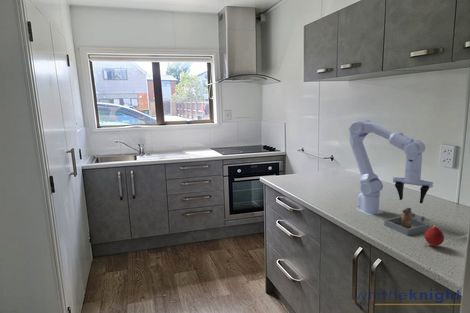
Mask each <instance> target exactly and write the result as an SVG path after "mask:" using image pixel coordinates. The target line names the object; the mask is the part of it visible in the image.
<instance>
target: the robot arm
mask: <svg viewBox="0 0 470 313" xmlns="http://www.w3.org/2000/svg"><path fill="white" fill-rule="evenodd" d="M348 131H349V143H350V144H349V145H350V146H351V150H352V153H353V155H354V158H355V161H356V164H357V168H358V169H359V170H358V171H359V172H360V179H359V183H360V186H359V188H360V192H359V194H358V196H357V208H356V210H357V211H359V212H362V213H365V214H366V215H369V216H373V215H378V214H384V212H383V211H382V210H380V197H381V194H380V193H381V191H383V188H384V184H383V182H382V181H381V180H380V178H379V176H378V175H377V174H376V173H374V171H373V168H372V163H371V161H370V159H369V156H368V152H367V150H366V148H365V145H364V139H365V137H366V136H367V135H368V134H369V133H371V134H376V135H378V136H380V137H382V138H383V139H386V140H388V142H389V144H390V145H392V146H394V147H396V148H398V149H400V150H402V151H403V152H404V153H405V155H406V157H405V169H404V177H398V176H397V177H395V176H394V177H392V183H395V184H394V188H396V191H397V193H398V198H399V201H402V200H403V199H404V188H405V185H412V186H413V185H414V186H418V187H420V186H421V187H420V197H419V204H421V205H422V204H423V203H424V200H425V197H426V195H427V193H428V191H429V189H431V188H433V187H434V181H427V180H424V179H423V180H422V179H421V177H422V163H423V153H424V152H425V151H426V150H425V149H426V145H425V143H424V142H423V141H421V140H420V139H419V140H418V139H417V140H415V138H414V137H409V136H407V135H405V134H404V132H402V131H401V132H391V131H390V130H388V129H387V128H384V127H383V126H381V125H379V124H377V123H376V122H375V121H371V120H369V119H363V120H354V121H353V122H351V124H350V126H349V127H348Z"/></svg>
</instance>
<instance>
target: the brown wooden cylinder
mask: <svg viewBox="0 0 470 313" xmlns="http://www.w3.org/2000/svg"><path fill="white" fill-rule="evenodd" d="M412 213H413V211H412V208H411V207H407V208H405V209H402V210H401V216H402V219H401V224H400V226H402V227H404V228H407V229H409V228H412V225H411V221H412Z"/></svg>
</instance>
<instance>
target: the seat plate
mask: <svg viewBox="0 0 470 313" xmlns="http://www.w3.org/2000/svg"><path fill="white" fill-rule="evenodd" d="M400 216H401V215H398V216H397V217H400ZM412 219H415V220H417V221H420V222H423V223H425V222H429V221H431V219H429V218H426V217H425V216H421V215H418V214H416V213H415V212H412Z"/></svg>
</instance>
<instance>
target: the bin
mask: <svg viewBox="0 0 470 313" xmlns="http://www.w3.org/2000/svg"><path fill="white" fill-rule="evenodd" d="M399 216H400V217H398V216H397V217H393V218H392V217H391V218H387V219H384V222H383V226H385V227H387V228H389V229H392V230H393V231H395V232H398V233H400V234H403V235H405V236H406V237H407V236H412V235H416V234H420V233H425V232H426V231H427V230H428V229H429V226H430V225H429V224H427V223H425V222H420V221H417V220H415V219H412V221H411V226H413V227H411V228H409V229H407V228H404V227H402V226H401V224H400V223H401V219H402V215H399Z"/></svg>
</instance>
